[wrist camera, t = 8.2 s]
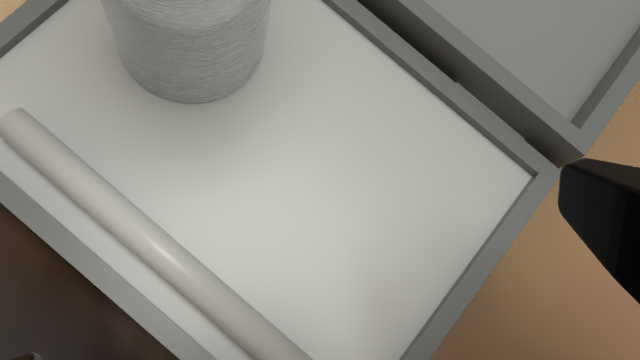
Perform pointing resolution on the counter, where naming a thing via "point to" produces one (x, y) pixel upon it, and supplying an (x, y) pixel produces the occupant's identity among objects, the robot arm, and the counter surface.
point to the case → (531, 60)
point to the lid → (265, 185)
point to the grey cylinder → (189, 44)
